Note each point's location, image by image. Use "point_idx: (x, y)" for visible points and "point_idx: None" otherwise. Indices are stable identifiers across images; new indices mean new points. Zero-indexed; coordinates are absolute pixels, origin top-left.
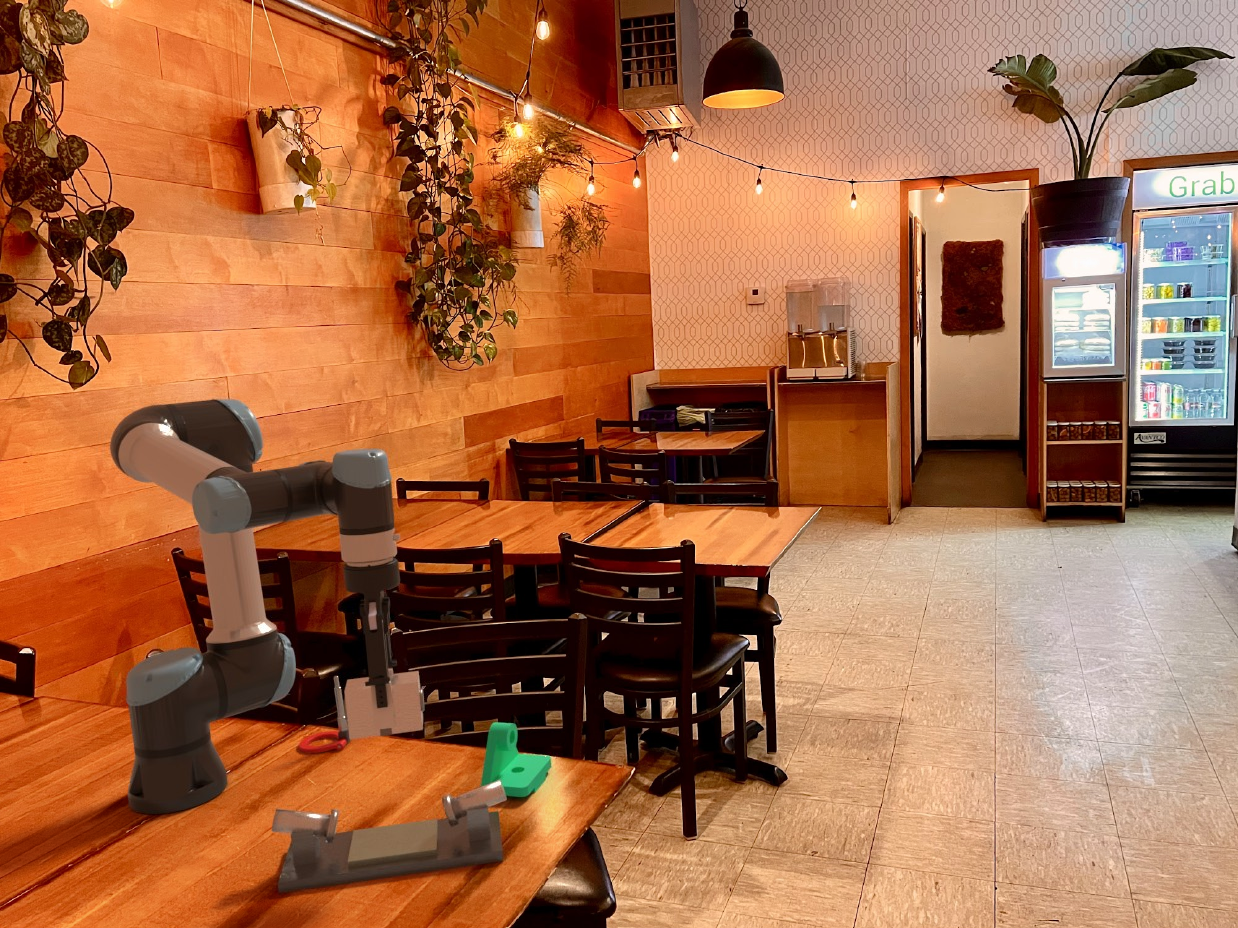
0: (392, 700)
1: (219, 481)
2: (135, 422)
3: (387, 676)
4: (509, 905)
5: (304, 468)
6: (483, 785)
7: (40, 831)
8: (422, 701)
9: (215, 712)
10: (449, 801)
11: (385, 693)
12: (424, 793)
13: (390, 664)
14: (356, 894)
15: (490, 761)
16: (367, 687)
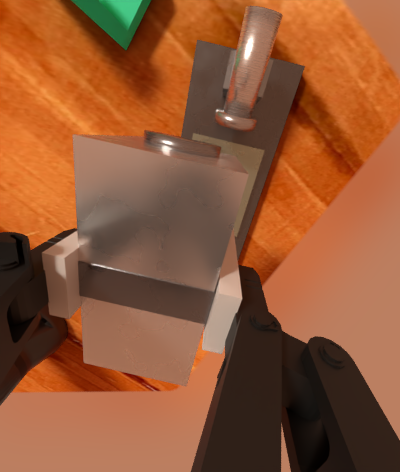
0: (229, 254)
1: None
2: None
3: (351, 373)
4: (394, 92)
5: None
6: (123, 41)
7: (72, 381)
8: (220, 149)
9: None
10: (249, 120)
11: (264, 300)
12: (90, 128)
13: (30, 268)
14: (267, 229)
15: (94, 4)
16: (190, 340)
